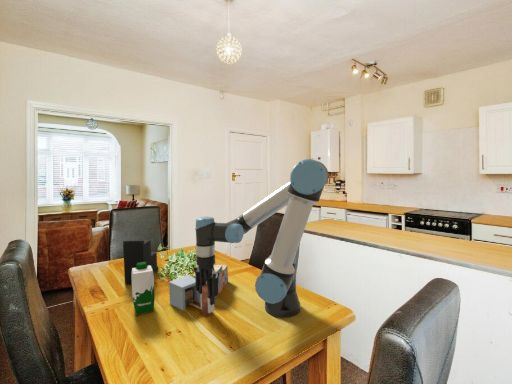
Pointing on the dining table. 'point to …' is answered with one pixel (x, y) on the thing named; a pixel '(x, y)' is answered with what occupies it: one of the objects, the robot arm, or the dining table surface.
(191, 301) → the tethered block
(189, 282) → the box
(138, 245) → the bookend
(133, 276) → the milk carton
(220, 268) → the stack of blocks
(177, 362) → the dining table surface
